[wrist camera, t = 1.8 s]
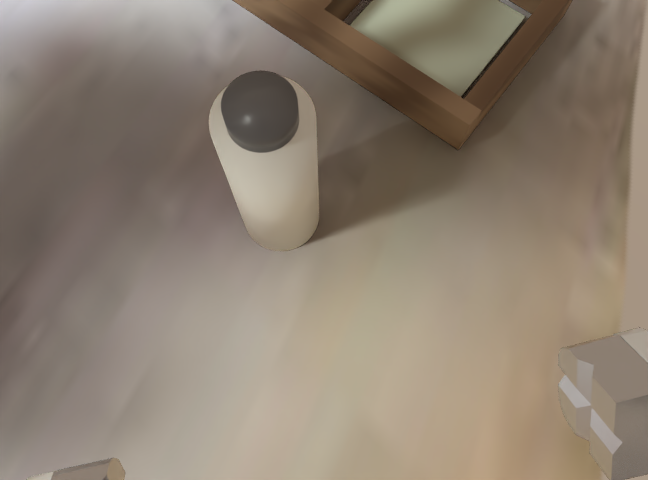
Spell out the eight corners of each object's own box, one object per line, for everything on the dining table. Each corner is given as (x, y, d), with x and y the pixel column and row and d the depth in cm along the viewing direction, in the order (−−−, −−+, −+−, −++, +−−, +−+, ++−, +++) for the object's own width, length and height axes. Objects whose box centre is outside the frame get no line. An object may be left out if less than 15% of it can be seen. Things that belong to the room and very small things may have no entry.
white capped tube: (228, 221, 35) (179, 112, 23) (276, 167, 36) (252, 37, 24) (287, 266, 34) (267, 176, 22) (334, 208, 35) (338, 95, 23)
